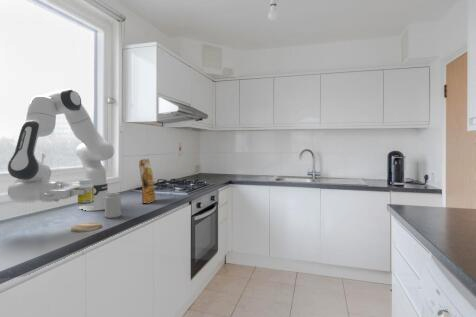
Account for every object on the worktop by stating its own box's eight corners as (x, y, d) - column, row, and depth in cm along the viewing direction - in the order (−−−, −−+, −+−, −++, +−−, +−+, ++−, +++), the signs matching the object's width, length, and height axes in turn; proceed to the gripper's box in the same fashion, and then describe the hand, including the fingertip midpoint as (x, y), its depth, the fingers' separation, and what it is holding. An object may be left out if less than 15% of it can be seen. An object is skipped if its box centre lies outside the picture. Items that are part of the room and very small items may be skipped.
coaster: (77, 225, 127) (77, 223, 126) (105, 223, 129) (105, 221, 129) (66, 232, 115) (66, 231, 115) (97, 231, 117) (97, 229, 117)
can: (118, 218, 138) (118, 194, 138) (102, 219, 137) (102, 195, 137) (122, 214, 146) (122, 192, 145) (107, 215, 144) (107, 192, 144)
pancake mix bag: (136, 205, 171) (135, 159, 170) (149, 199, 190) (148, 158, 189) (146, 205, 170) (145, 159, 169) (158, 199, 189) (158, 158, 188)
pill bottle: (86, 202, 125) (85, 178, 125) (97, 203, 123) (96, 179, 123) (74, 205, 119) (73, 180, 119) (85, 206, 117) (85, 180, 117)
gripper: (40, 187, 108) (78, 186, 111) (63, 181, 129) (95, 180, 131) (40, 203, 109) (78, 202, 111) (63, 195, 129) (95, 194, 131)
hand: (87, 190), depth 121 cm, fingers closed on pill bottle, 6 cm apart
